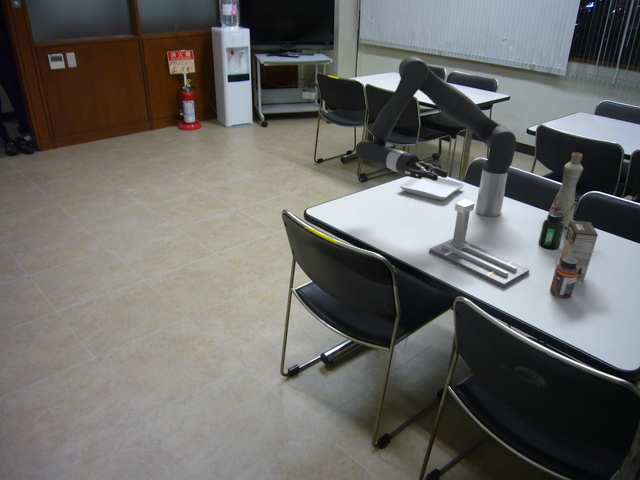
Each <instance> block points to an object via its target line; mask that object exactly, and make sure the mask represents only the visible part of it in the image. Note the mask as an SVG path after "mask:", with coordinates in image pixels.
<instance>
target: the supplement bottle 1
mask: <svg viewBox="0 0 640 480" xmlns="http://www.w3.org/2000/svg"><path fill="white" fill-rule="evenodd" d="M547 216H548V219H547V218H546V219H544V221H543V222H542V226H541V230H540V234H539V238H538V246H539V247H540V248H542V249H545V250H547V251H556V250H558V249H560V247H561V243H562V239H563V236H564V232H565V224H564V223H563V222H562V221H563V220H564V215H563V214H562V213H560V212H549V211H548V214H547Z"/></svg>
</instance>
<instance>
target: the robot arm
mask: <svg viewBox="0 0 640 480" xmlns="http://www.w3.org/2000/svg"><path fill="white" fill-rule="evenodd" d="M398 74H399V77H400V80H399V82H398V85H397V87H396V89H395V91H394V92H393V94H392V96H391V97H390V99H389V100H388V101H387V103H385V105H384V106H383V107H382V108H381V110H380V111H379V113H378V115H377V116H376V119H375V120H374V122H373V124H372V125H371V128H370V134H371V135H373V139H372V141H370V140H367V139H364V140H363V139H362V140H361V141H359V142H358V143H357V144H356V146H355V148H354V149H355V150H354V151H355V155H356V156H357V158H359V159H361V160H363V161H367V162H369V163H370V162H371V163H374V164H377V165H379V166H381V167H383V168H386V169H389V170H390V171H392V172H394V173H395V172H396V173H398V174H401V175H403V176H405V177H409V178H417V179H422V177H423V178H425V179H426V178H428V179H431V180H434V181H437V180H438V177H439V178H443V179H447V178H448V171H447V170H444V169H441V168H442V167H441V165H440V164H438V163H436V162H434V161H432V160H430V161H429V163H427V162H426V161H421V160H420V158H419V157H418V156H417V155H415V154H413V153H410V152H406V151H403V150H400V149H395V148H391V147H389V146H387V142H388V139H389V136H390V135H391V133H392V131H393V129H394V128H395V126H396V124H397V122H398V120H399V118H400V117H401V115H402V114H403V112H404V111H405V109H406V108H407V106H408V104H409V103H410V101H411V100H412V99H413V97H414V96H415V94H417V92H418V91H420V92H422V94H424V95H425V96H427V98H428V99H429V100H430V101H431V102H432V103H433V104H434V105H435V106H436V107H437V108H438V109H439V110H440V111H441V112H442V113H443V114H444V115H446V116H447V117H449V118H450V119H451V120H452V121H453V122H455V123H456V124H458V125H460V126H461V127H463V128H465V129H468V130H470V131H472V133H474V134H475V135H476V136H477V137H478V138H479V139H480V140H481V141H482V142H483V143H484V144H485V145H486V146H487V147H488V148H489V152H488V157H487V160H484V161H483V165H482V170H481V171H482V172H481V176H480V183H479V189H478V193H477V194H478V195H477V199H476V205H475V206H476V207H475V212H476V213H477V214H479V215H482V216H484V217H499V215H500V214H501V212H502V208H503V202H504V197H505V192H506V184H507V179H508V173H509V169H510V167H511V166H512V164H513V159H514V155H515V151H516V147H517V137H516V135H515V133H513V131H511V130H510V129H508V128H507V127H505V126H503V125H501V124H499V123H498V122H496V121H494V120H493V119H491V118H490V117H489V116H487V115H486V114H485V113H484V112H483V111H482V109H481V108H480V107H479V106H478V105H477V104H476V103H475V102H474V101H473V100H472V99H471V98H470V97H469V96H468V95H466V94H464V92H462V91H461V90H459V89H458V88H456V87H455V86H454V85H452V84H451V83H448V82H447V81H445V80H444V79H442V78H440V77H439V76H437V75H436V74H435V73H434V72H433V71H432V69H430V68H429V67H428V65H427V63H426V62H425V61H424V60H423V59H421V58H420V57H417V56H408V57H405V58H404V59H402V60H401V62H400V63H399V66H398Z"/></svg>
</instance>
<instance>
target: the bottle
mask: <svg viewBox="0 0 640 480" xmlns="http://www.w3.org/2000/svg"><path fill="white" fill-rule="evenodd" d="M582 159H583V153H581V152H572V153H571V159H570V161H568V162H567V163H566V164H565V165H564V166H563V167H564V168H563V175H562V183H561V185H560V188H559V190H558V193H557V194H556V196H555V198H554V201H553V202H552V204H551V207H550V208H549V211H548V213H549V212H560V213H562V214H563V215H564V220H563V221H562V222H563V223H564V224H565V228H568V226H569V222H570V221H574V214H575V213H574V211H575V201H576V200H575V198H576V189H577V187H576V186H577V184H578V182H579V179H580V177H581V175H582V173H583V171H584V167H583V166H582V164H581V161H582ZM546 219H548V215H547V217H546ZM565 228H564V229H565Z"/></svg>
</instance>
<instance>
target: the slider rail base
mask: <svg viewBox="0 0 640 480" xmlns="http://www.w3.org/2000/svg"><path fill="white" fill-rule="evenodd" d="M452 244H453V238H451V239H448V240H447V241H445V242H442V243H439V244H436V245H435V246H433V247H431V248H429V252H428V253H429V254H431V255H433V256H435V257H437V258H439V259H442V260H443V261H446V262H448V263H450V264H452V265H453V266H454V265H455V266H456V267H458V268H460V269H462V270H464V271H466V272H468V273H471V274H473V275H475V276H476V277H479V278H481V279H483V280H485V281H487V282H489V283H491V284H494V285H496V286H497V287H500V288H501V289H504V288H506V287H508V286H510V285H511V284H512V285H513V283H515V282H516V281H518V280H521V279H522V278H524V277H526V276H527V275H529V273H530V269H529V268H527V267H525V266H523V265H520V264H518V263H515V262H513V261H512V260H509V259H506V258H505V257H502V256H499V255H497V254H496V253H493V252H491V251H488V250H486V249H484V248H481V247H479V246H476V245H474V244H473V243H470V242H468V241H466V240H465V245H464V247H466V249H465V250H464V251H461V250H459V249H456V248H454V247H452V246H451V245H452Z"/></svg>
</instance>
